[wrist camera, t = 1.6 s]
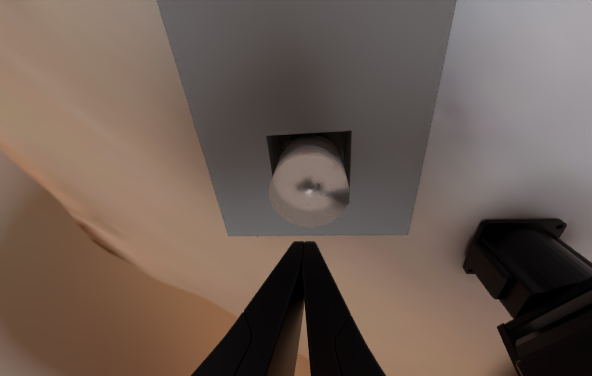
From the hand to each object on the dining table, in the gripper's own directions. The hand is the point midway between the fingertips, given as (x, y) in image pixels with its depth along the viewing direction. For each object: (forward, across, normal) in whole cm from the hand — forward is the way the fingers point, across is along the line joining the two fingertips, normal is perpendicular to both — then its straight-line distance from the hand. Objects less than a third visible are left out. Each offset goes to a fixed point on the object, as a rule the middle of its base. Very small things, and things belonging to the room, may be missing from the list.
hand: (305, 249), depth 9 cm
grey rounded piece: (+8, 0, 0) cm, 8 cm away
